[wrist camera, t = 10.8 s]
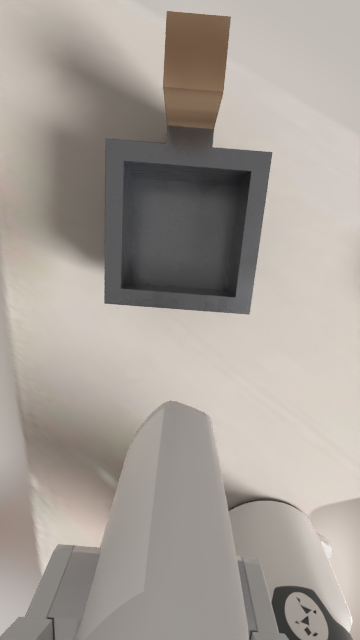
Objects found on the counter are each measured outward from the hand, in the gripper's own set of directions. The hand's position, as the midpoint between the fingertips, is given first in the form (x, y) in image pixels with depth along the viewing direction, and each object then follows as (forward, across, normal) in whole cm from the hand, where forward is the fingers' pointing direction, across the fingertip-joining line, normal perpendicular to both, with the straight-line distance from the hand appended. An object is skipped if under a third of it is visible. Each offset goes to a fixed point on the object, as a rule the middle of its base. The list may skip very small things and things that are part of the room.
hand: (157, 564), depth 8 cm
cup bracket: (+22, 0, +13) cm, 26 cm away
